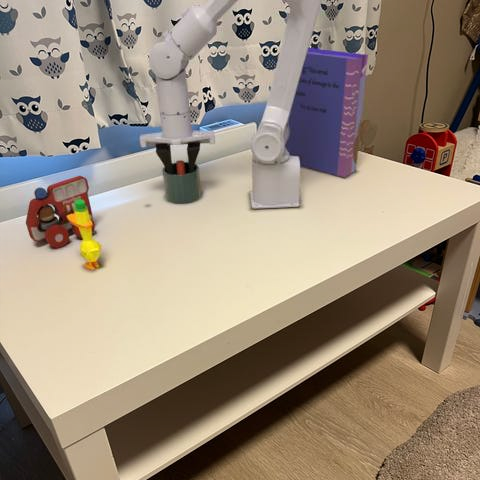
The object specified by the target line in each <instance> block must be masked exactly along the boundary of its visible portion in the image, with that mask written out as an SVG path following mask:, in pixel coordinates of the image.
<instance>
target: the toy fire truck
mask: <svg viewBox="0 0 480 480" xmlns="http://www.w3.org/2000/svg"><path fill="white" fill-rule="evenodd" d="M89 189H90V187H89V182H88V179H87V177H84V176H82V175H77V176H73V177H70V178H68V179H63V180H61V181H58V182H56V183H53V184H49V185H48V186H47V188H46V189H45V188H43V187H37V188H36V189H34V197H33V198H31V200H30V201H29V204H28V208H27V214H26V218H25V225H26V229H27V232H28V235H29V237H30V239H31V240H32V241H33V242H36V243H38V242H41V241H44V240H45V241H46V243H47V244H48V245H49V246H51V247H52V248H56V249H57V248H62V247H64V246H65V245H67V243H68V242H69V239H70V233H69V231H72V233H73V234H74V235H75V236H76V237H78V238H79V239H83V238H82V235H81V233H80V230H79V228H78V227H77V226H75V225H73V224H71V223H70V222H69V221H68V219H67V215H70V214H75V213H74V209H73V207H74V206H75V203H74V202H75V201H76V200H79V199H81V200H84V201H85V205H86V206H87V209H88V213H89V217H90V219H91V221H92V224H93V225H92V227H91V230H92V235H93V234H94V233H95V229H96V225H95V222H94V220H93V219H94V216H93V211H92V207H91V201H90V198H89Z"/></svg>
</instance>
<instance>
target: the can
mask: <svg viewBox="0 0 480 480" xmlns="http://www.w3.org/2000/svg"><path fill="white" fill-rule="evenodd" d="M172 166H173V171H174V175H172V174H168V173H167V171H166V168H165V166H163V168H162V180H163V186H164V194H165V195H164V196H165V199H166V200H167V201H168V202H169V203H173V204H181V205H182V204H190V203H194V202H196V201H198V200H199V199H200V198H201V197H202V186H201V174H200V166H199V165H198V164H197V163H195V166H194V172H192V173H189V162H188V161H184V166H185V174H183V175H178V174H177V165H176V162H172Z"/></svg>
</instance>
